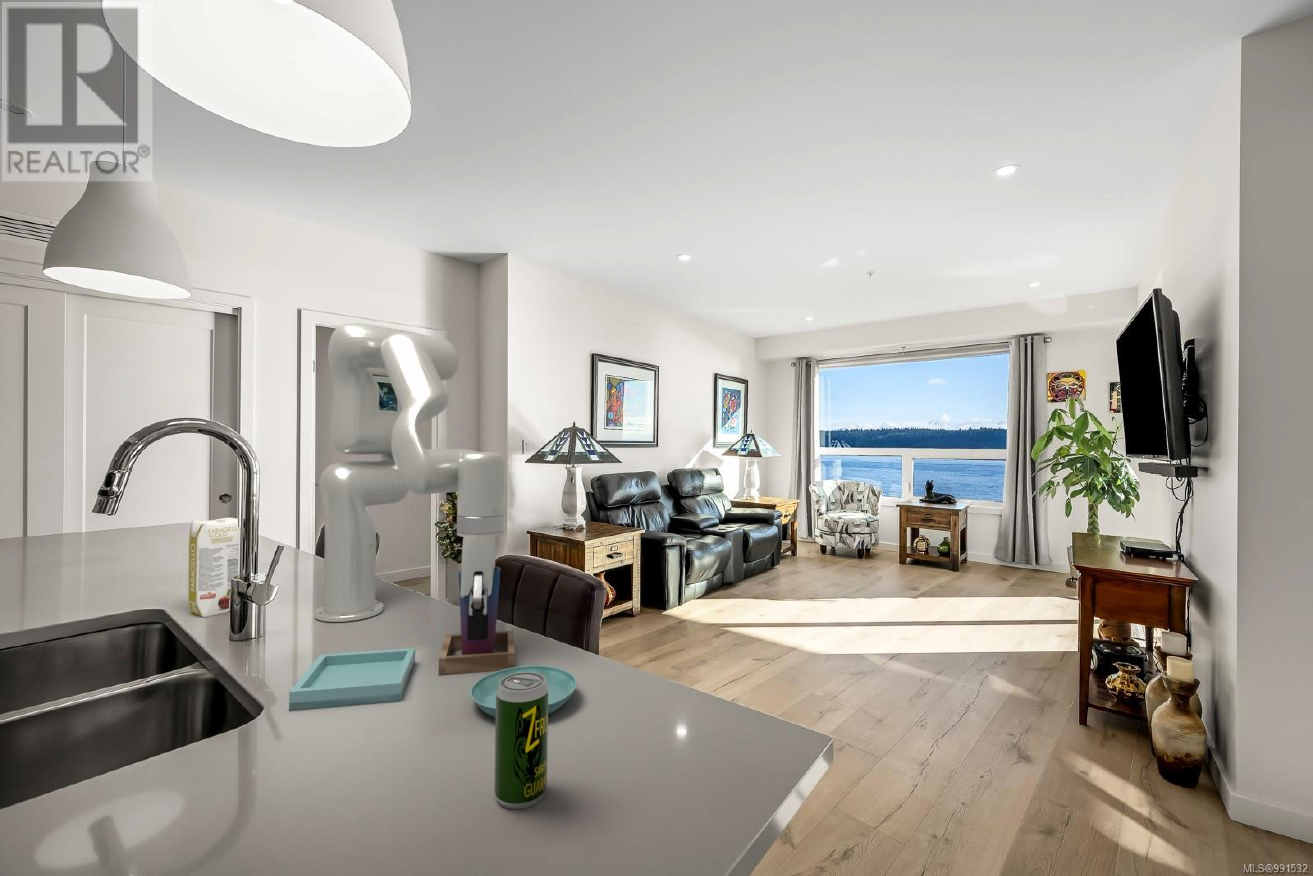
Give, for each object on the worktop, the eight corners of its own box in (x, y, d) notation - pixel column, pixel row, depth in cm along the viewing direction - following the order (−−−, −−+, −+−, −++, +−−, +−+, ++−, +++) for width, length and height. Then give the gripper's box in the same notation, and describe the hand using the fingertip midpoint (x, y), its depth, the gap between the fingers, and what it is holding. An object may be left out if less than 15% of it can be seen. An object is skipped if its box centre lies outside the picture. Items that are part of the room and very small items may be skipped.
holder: (445, 649, 104) (446, 634, 104) (513, 644, 107) (513, 630, 107) (438, 675, 93) (438, 659, 93) (514, 669, 95) (514, 653, 95)
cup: (492, 666, 96) (493, 574, 96) (450, 665, 96) (452, 573, 96) (503, 651, 103) (505, 565, 103) (465, 650, 103) (466, 564, 103)
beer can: (483, 803, 61) (485, 686, 61) (514, 775, 66) (516, 668, 66) (528, 816, 59) (529, 696, 59) (556, 787, 64) (558, 676, 64)
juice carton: (248, 609, 125) (249, 519, 125) (200, 619, 117) (201, 524, 117) (230, 603, 129) (231, 516, 129) (183, 613, 121) (184, 520, 121)
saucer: (521, 674, 94) (521, 658, 94) (597, 696, 87) (597, 678, 87) (446, 711, 81) (446, 692, 81) (527, 740, 74) (528, 719, 74)
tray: (320, 670, 94) (320, 654, 94) (415, 663, 97) (415, 648, 97) (289, 710, 80) (289, 692, 80) (400, 700, 84) (400, 683, 84)
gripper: (460, 518, 107) (459, 617, 107) (452, 534, 90) (450, 652, 90) (503, 517, 109) (501, 615, 109) (503, 533, 92) (501, 649, 92)
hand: (478, 631), depth 100 cm, fingers closed on cup, 6 cm apart
